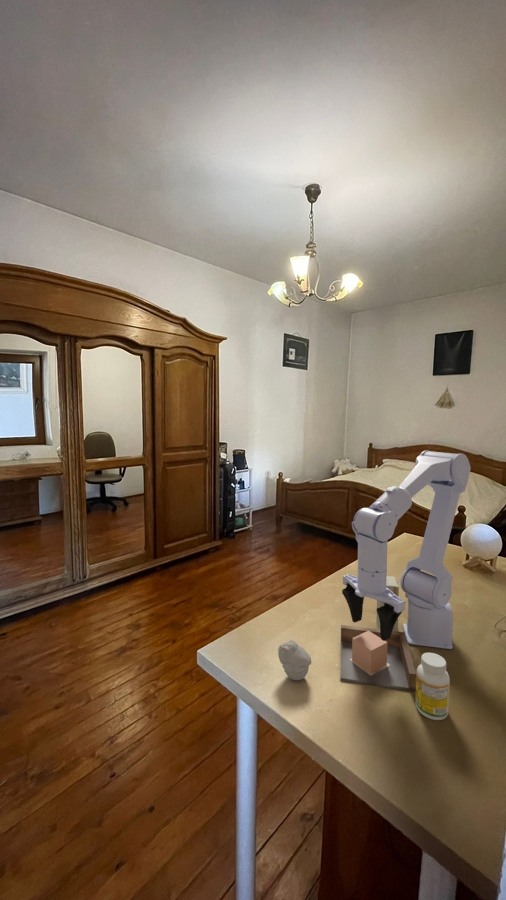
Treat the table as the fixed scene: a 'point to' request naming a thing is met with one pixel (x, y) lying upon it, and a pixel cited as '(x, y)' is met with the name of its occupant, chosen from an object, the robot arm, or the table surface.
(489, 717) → the table surface
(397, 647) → the tray
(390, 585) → the skincare box
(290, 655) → the frog figurine
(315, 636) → the table surface
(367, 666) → the cube
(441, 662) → the supplement bottle
